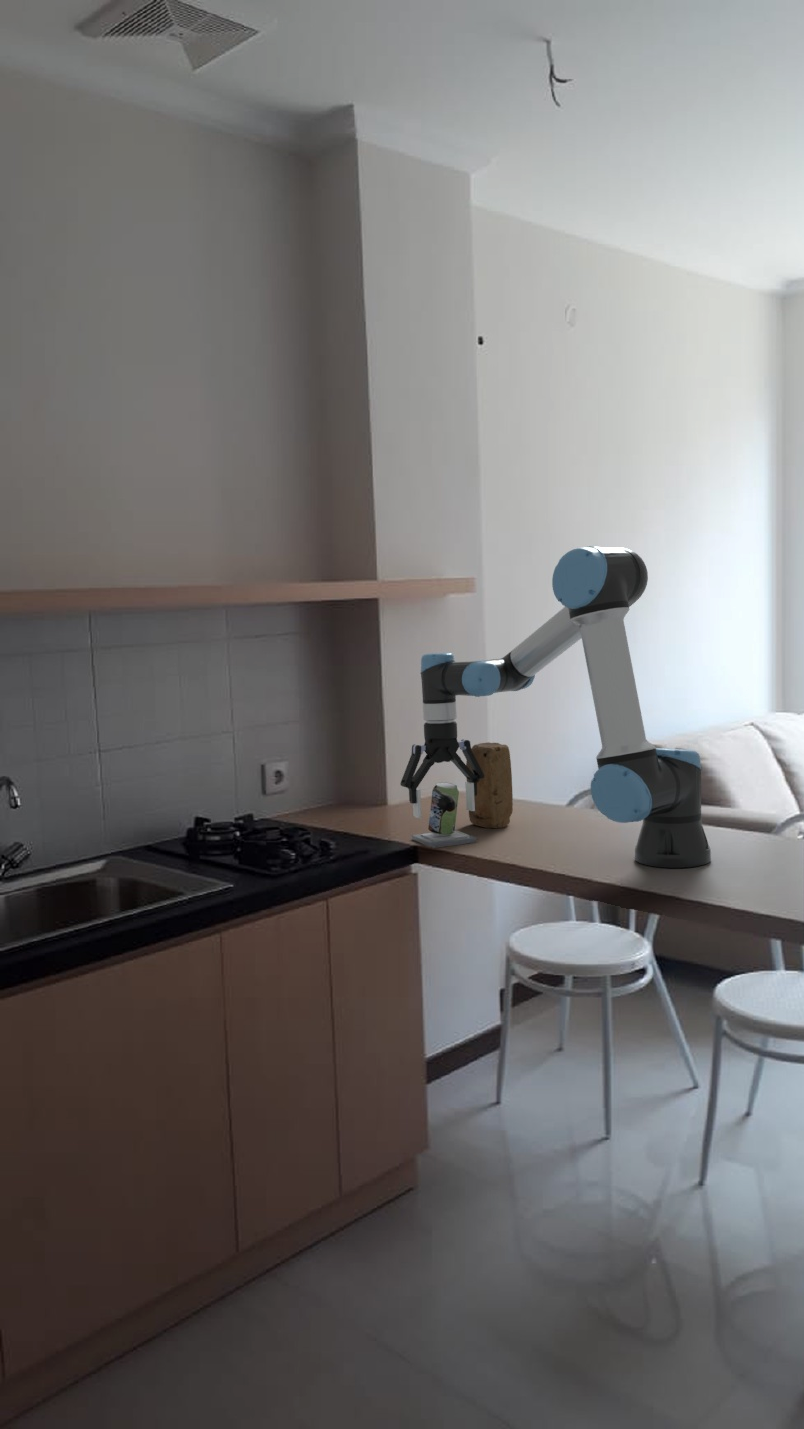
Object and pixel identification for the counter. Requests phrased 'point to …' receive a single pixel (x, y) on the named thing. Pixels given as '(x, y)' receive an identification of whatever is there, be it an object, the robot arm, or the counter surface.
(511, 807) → the block
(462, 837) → the plate
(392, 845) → the counter surface
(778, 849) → the counter surface
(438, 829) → the beverage can
